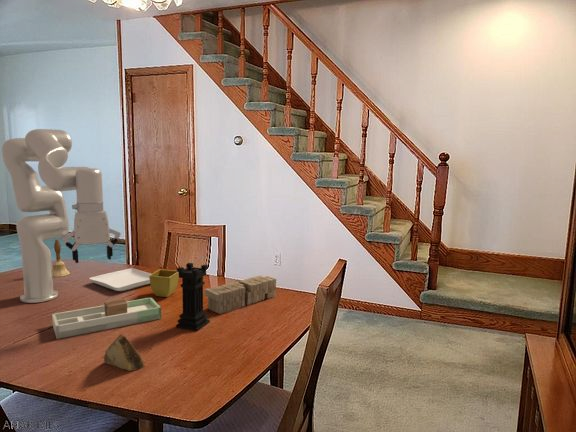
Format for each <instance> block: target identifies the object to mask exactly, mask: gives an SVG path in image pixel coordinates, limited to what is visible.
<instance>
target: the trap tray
mask: <svg viewBox="0 0 576 432" xmlns="http://www.w3.org/2000/svg"><path fill="white" fill-rule="evenodd" d="M125 301H126V300H125ZM126 303H127V313H123V314H117V315H112V316H106V315H105V307H104V304H103V305H98V306H97V305H95V306H92V307H84V308H80V309H79V308H78V309H73V310H68V311H67V310H66V311H62V312H55V313H51V317H52V318H51V319H52V323H51V324H52V327H53V331H54V333H55V334H54V335H55V338H56V340H58V339H63V338H68V337H74V336H80V335H85V334H90V333H93V332H94V333H95V332H100V331H104V330H110V329H115V328H119V327H125V326H131V325H135V324H140V323H145V322H151V321H155V320H161V319H162V307H161V305H159V304H158V303H157V301H155V299H154V298H153V297H150V296H149V297H144V298H140V299H134V300H128V301H126Z"/></svg>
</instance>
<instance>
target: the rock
mask: <svg viewBox="0 0 576 432" xmlns="http://www.w3.org/2000/svg"><path fill="white" fill-rule="evenodd" d="M103 362H104V363H105V364H108V365H111V366H113V367H117V368H119V369H123V370H126V371H130V372H131V371H135V370H136V371H137V370H139V369H142V368H145V367H146V364H145V362H144V360H143V358H142V356H141V355H140V354H139V352H138V351H137V349H136V348H135V347H134V345H133V344H132V343H131V341H130V340H128V339H127V337H126V336H125V335H123V334H122V333H121V334H119V335H118V336H117V337H116V338H115V340H114V341H113V342H112V343H111V344H110V345H109V346H108V348H107V349H106V350H105V353H104V356H103Z"/></svg>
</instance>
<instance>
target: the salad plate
mask: <svg viewBox="0 0 576 432" xmlns="http://www.w3.org/2000/svg"><path fill="white" fill-rule="evenodd" d="M151 274H152V273H150V272H147V271H144V270H139V269H136V268H130V267H129V268H125V269H121V270H117V271H116V270H115V271H112V272H107V273H103V274H99V275H96V276H92V277H89V278H88V279H89V281H90V282H92V283H93V284H97V285H99V286H101V287H103V288H104V287H105V288H107V289H109V290H113V291H115V292H125V291H129V290H133V289H136V288H140V287H143V286H146V285H150V279H149V275H151Z"/></svg>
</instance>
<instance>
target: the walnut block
mask: <svg viewBox="0 0 576 432" xmlns="http://www.w3.org/2000/svg"><path fill="white" fill-rule="evenodd" d="M103 303H104V304H103V305H104V307H105V315H106V316H112V315H117V314H123V313H127V303H126V300H125V299H124V298H123V297H121V298H114V299H108V300H104V301H103Z"/></svg>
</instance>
